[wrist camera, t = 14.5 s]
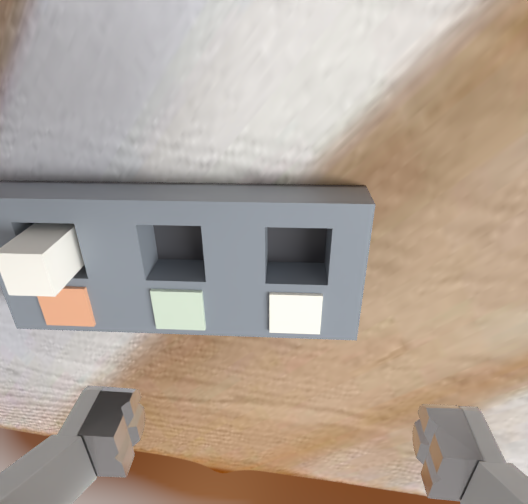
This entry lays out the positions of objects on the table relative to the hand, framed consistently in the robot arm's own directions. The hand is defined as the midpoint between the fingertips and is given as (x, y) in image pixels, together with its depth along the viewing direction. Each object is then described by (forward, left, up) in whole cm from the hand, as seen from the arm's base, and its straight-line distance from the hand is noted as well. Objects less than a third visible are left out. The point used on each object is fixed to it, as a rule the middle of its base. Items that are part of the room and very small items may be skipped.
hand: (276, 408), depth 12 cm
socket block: (+9, -10, -26) cm, 30 cm away
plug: (+7, -21, -26) cm, 34 cm away
